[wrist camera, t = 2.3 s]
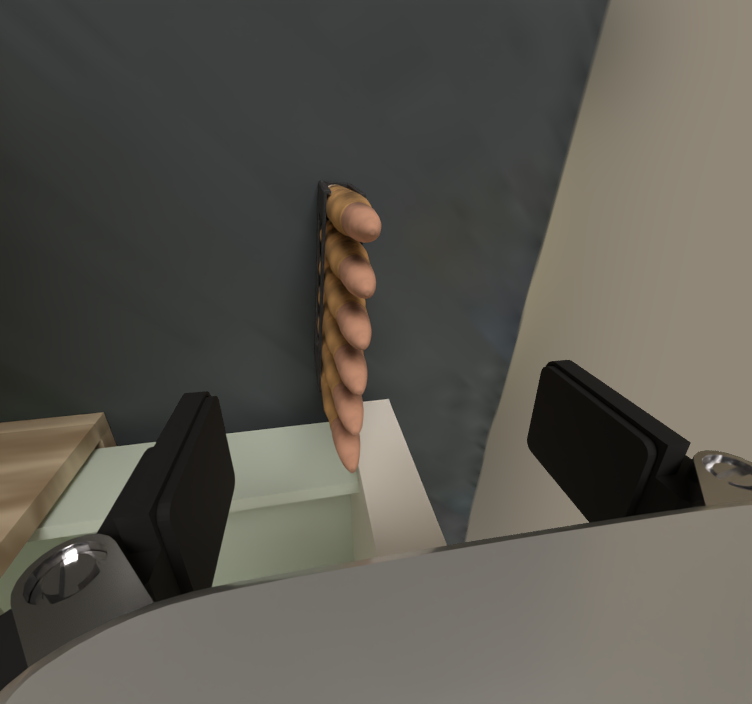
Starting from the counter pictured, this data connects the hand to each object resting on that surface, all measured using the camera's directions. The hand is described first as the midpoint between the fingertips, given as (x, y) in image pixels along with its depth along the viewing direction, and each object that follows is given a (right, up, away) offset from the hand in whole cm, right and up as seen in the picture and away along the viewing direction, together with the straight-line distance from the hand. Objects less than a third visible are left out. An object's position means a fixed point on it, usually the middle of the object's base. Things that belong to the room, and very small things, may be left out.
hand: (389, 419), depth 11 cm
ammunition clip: (-3, +7, +12) cm, 14 cm away
